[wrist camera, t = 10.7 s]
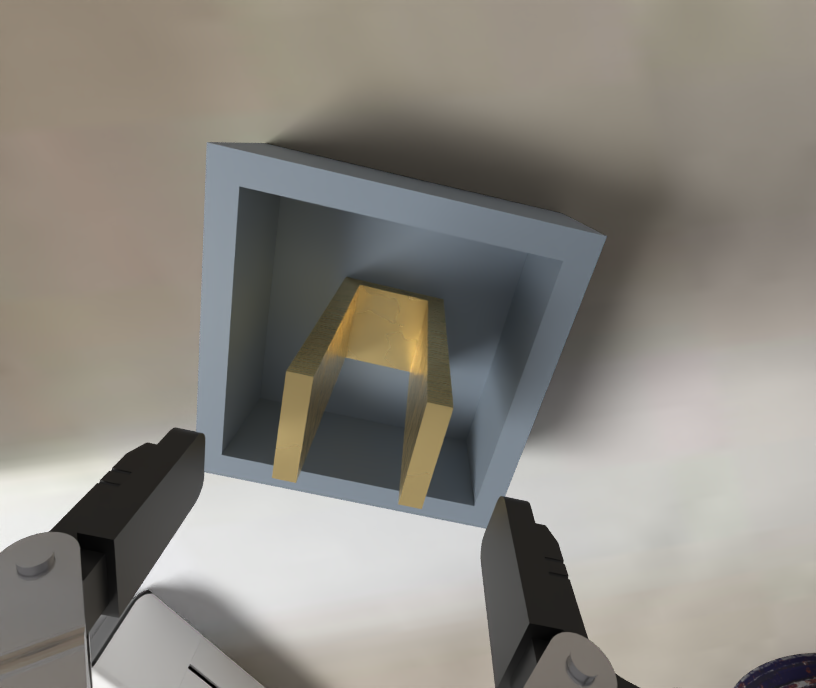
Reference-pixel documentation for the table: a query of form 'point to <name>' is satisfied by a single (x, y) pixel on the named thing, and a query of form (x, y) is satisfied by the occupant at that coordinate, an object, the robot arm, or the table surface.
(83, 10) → the table surface
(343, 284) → the bracket
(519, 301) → the box
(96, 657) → the laminator
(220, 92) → the table surface
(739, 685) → the storage jar
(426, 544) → the table surface
